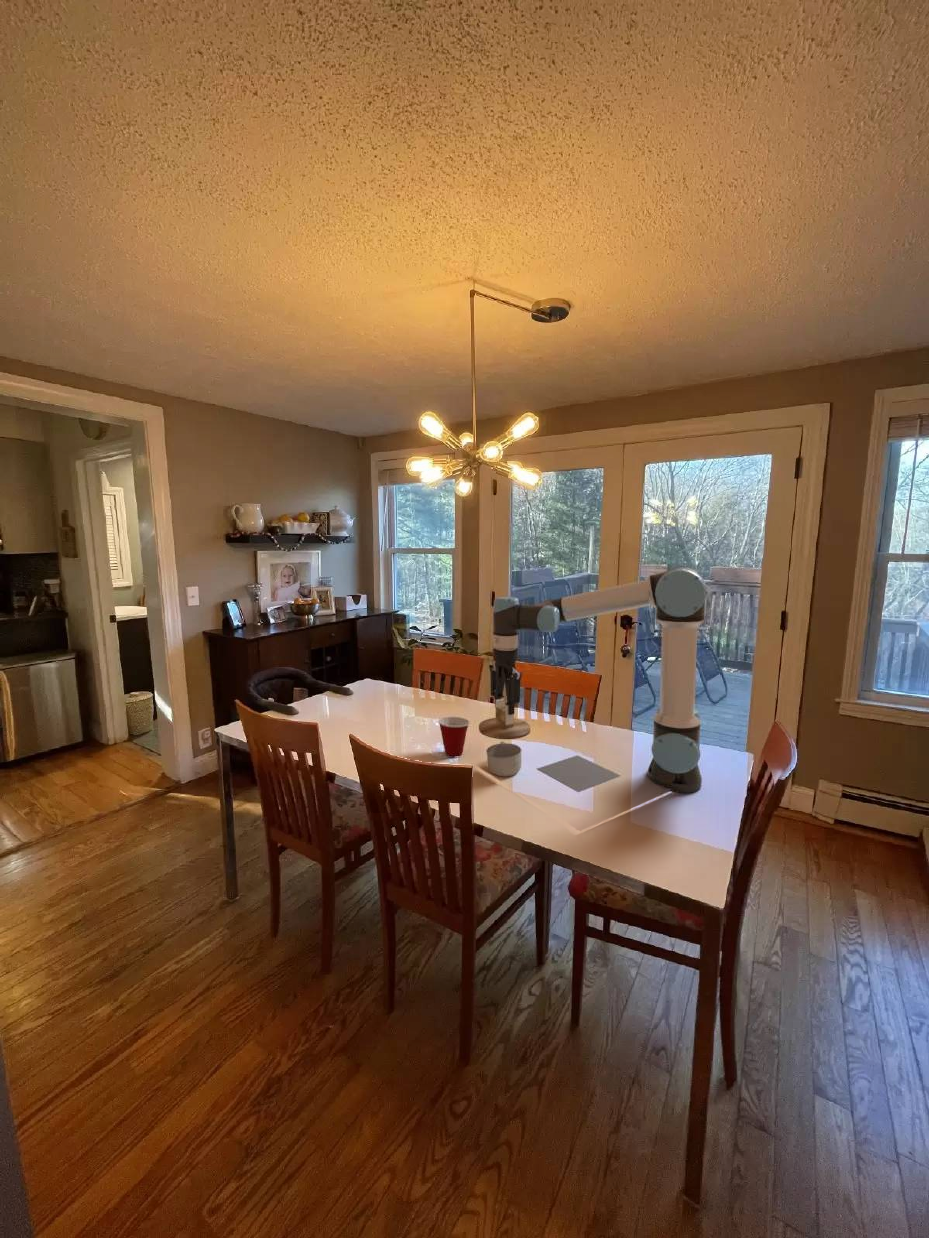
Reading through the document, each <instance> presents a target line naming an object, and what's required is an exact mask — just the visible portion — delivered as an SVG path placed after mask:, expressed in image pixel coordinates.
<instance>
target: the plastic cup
mask: <svg viewBox="0 0 929 1238" xmlns="http://www.w3.org/2000/svg"><path fill="white" fill-rule="evenodd" d="M437 723H438V724H439V728H440V729H439V730H440V732H441V739H442V743H443V744H442V745H443V747H444V748H443V749H444V753H445V756H447V757H448V756H451V757H450V758H456V757H455V756H459V757H461V756H462V755H463V752H464V746H465V742H466V737H467V736H466V735H467V732H468V728H469V725H470V724H471V721H470V720H469V719H467V718H466V717H465V718H464V717H460V716H445V717H441V718H439V719H438V720H437Z"/></svg>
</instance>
